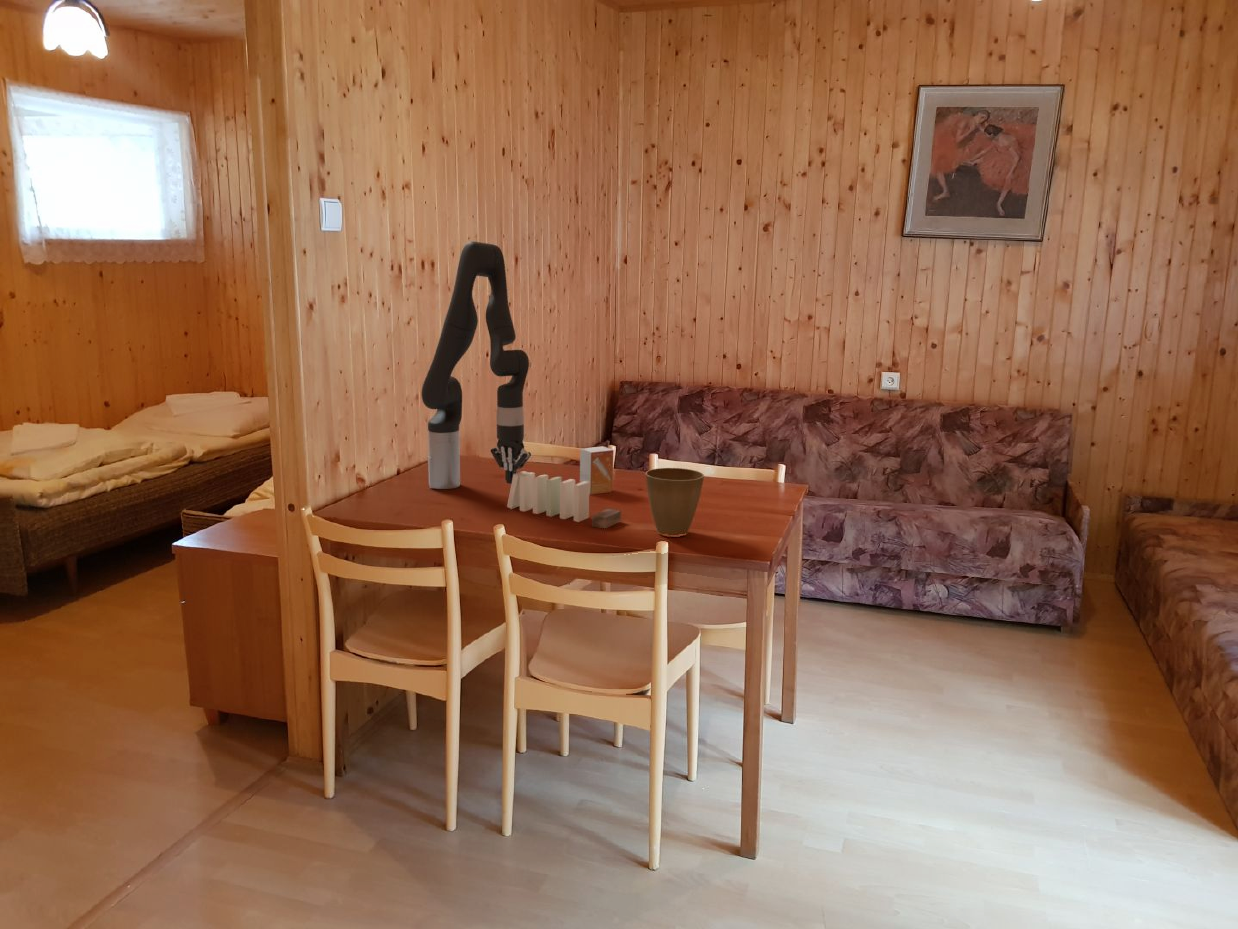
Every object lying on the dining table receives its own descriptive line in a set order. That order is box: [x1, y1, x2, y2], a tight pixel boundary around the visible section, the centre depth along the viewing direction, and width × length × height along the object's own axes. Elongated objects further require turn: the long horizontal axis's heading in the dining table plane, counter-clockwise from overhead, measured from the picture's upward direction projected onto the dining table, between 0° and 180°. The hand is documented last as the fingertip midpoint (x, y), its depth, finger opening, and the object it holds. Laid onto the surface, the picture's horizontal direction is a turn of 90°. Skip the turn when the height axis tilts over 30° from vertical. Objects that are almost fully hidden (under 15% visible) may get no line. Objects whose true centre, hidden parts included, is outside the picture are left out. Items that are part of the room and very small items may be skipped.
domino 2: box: [519, 471, 536, 512], centre depth 270 cm, size 2×5×10 cm, turn 149°
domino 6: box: [573, 481, 590, 523], centre depth 261 cm, size 2×5×10 cm, turn 149°
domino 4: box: [545, 476, 563, 517], centre depth 265 cm, size 2×5×10 cm, turn 149°
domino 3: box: [532, 473, 549, 515], centre depth 267 cm, size 2×5×10 cm, turn 149°
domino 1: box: [506, 470, 529, 510], centre depth 271 cm, size 2×5×10 cm, turn 149°
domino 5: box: [559, 478, 576, 520], centre depth 263 cm, size 2×5×10 cm, turn 149°
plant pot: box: [645, 467, 705, 535], centre depth 249 cm, size 15×15×16 cm
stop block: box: [591, 508, 622, 530], centre depth 257 cm, size 4×8×3 cm, turn 149°
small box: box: [579, 446, 614, 496], centre depth 290 cm, size 8×6×13 cm
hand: (510, 483), depth 272 cm, fingers closed
